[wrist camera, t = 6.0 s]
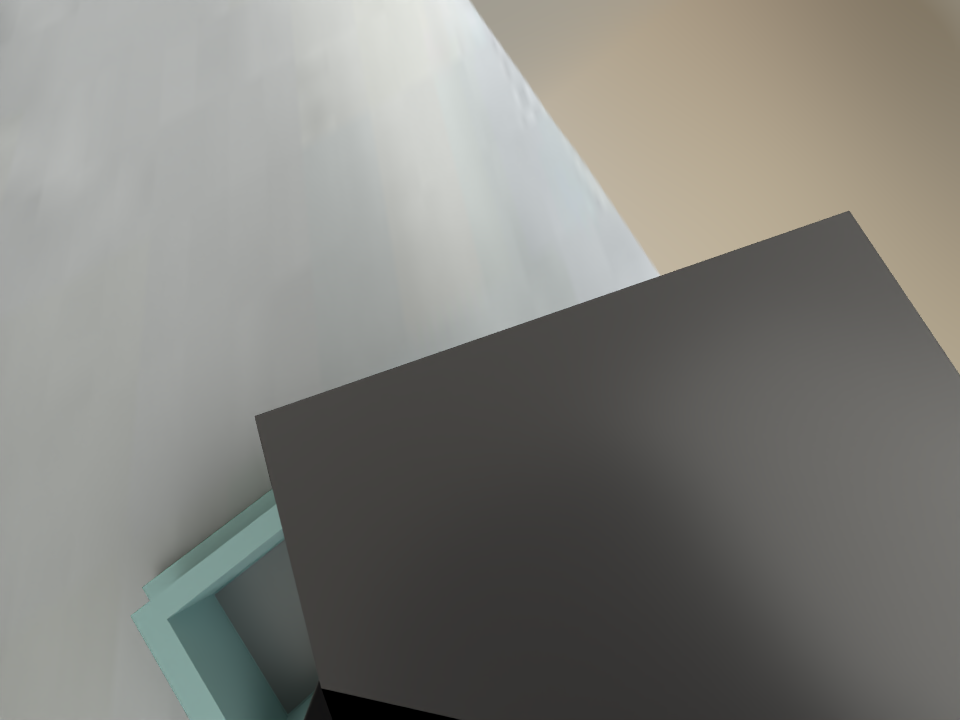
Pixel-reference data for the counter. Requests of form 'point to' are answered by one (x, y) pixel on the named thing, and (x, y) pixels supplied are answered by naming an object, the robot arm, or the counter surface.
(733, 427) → the plug
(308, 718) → the robot arm
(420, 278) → the counter surface
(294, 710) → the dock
